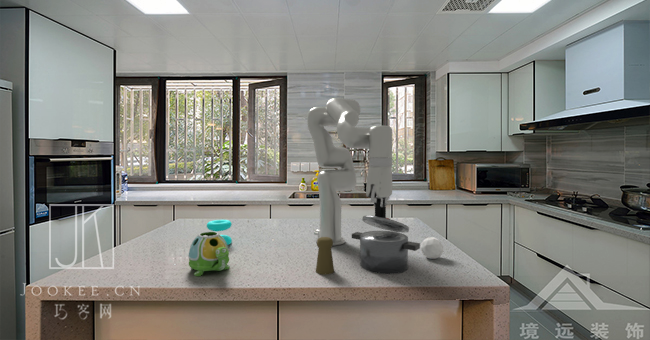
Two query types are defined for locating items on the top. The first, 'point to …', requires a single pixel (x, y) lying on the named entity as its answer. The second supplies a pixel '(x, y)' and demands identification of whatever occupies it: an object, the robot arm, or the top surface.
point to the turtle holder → (208, 253)
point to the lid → (385, 224)
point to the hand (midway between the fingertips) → (380, 218)
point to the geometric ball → (432, 248)
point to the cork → (324, 256)
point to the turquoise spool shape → (220, 228)
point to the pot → (384, 251)
